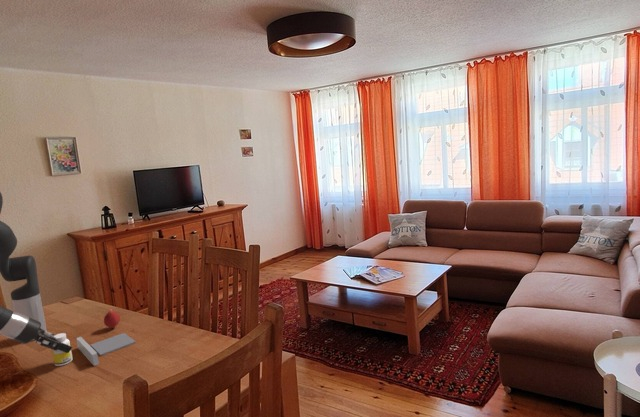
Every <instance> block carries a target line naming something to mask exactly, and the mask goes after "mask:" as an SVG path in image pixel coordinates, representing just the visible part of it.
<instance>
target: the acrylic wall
mask: <svg viewBox="0 0 640 417" xmlns="http://www.w3.org/2000/svg"><path fill="white" fill-rule="evenodd" d="M76 345H77V349H78V351H80V352H81V353H82V354H83V355H84V357H85V358H86V359H87V360H88V361H89V362H90V363H91V364H92V366H93V367H95V366H96V367H97V366H98V365H100V362H99V354H98V353H97V352H96V351H95V350H94V349H93V348H92V347H91V344H89V343H88V342H87V341H86V340H85V339H84V338H83V337H82V336H78V337H76Z"/></svg>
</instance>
